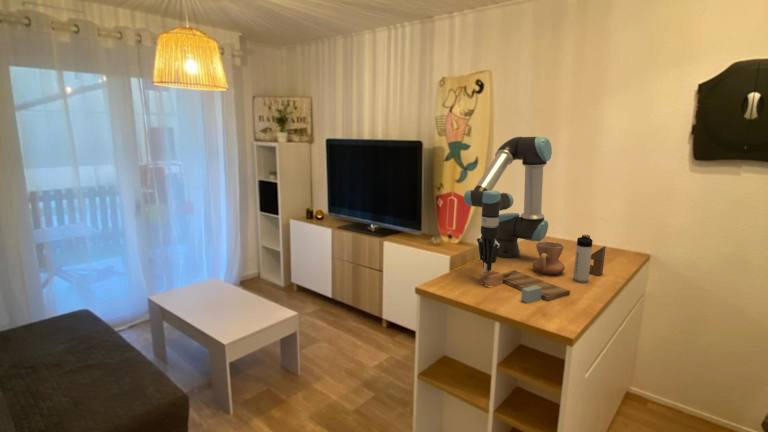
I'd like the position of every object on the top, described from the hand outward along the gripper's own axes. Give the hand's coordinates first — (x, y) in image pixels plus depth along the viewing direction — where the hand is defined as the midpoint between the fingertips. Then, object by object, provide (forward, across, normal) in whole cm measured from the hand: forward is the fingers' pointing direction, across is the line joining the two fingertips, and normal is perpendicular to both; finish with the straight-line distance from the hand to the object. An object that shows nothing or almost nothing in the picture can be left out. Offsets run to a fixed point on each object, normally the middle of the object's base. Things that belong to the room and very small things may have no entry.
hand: (486, 276), depth 185 cm
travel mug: (+2, +20, +39) cm, 44 cm away
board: (+2, +14, +12) cm, 19 cm away
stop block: (+2, +25, 0) cm, 25 cm away
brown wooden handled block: (+2, +4, +3) cm, 5 cm away
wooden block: (+2, +15, +53) cm, 55 cm away
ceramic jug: (+2, +5, +35) cm, 35 cm away
